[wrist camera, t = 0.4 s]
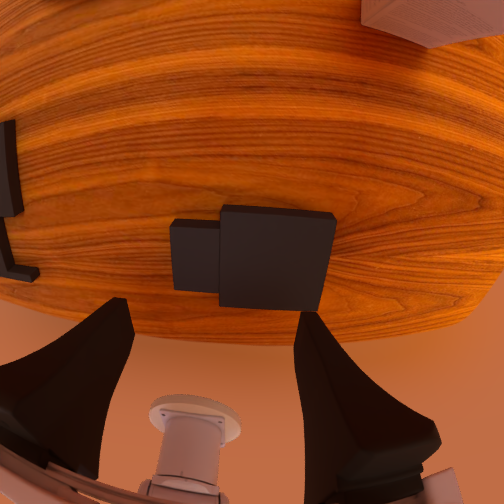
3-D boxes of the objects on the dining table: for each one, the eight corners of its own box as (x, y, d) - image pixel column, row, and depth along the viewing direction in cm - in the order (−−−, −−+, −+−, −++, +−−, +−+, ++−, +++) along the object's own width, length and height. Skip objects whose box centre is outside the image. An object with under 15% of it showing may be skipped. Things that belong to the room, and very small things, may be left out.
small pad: (314, 300, 24) (317, 311, 23) (179, 291, 24) (175, 303, 23) (332, 212, 21) (337, 220, 19) (174, 201, 20) (168, 208, 19)
